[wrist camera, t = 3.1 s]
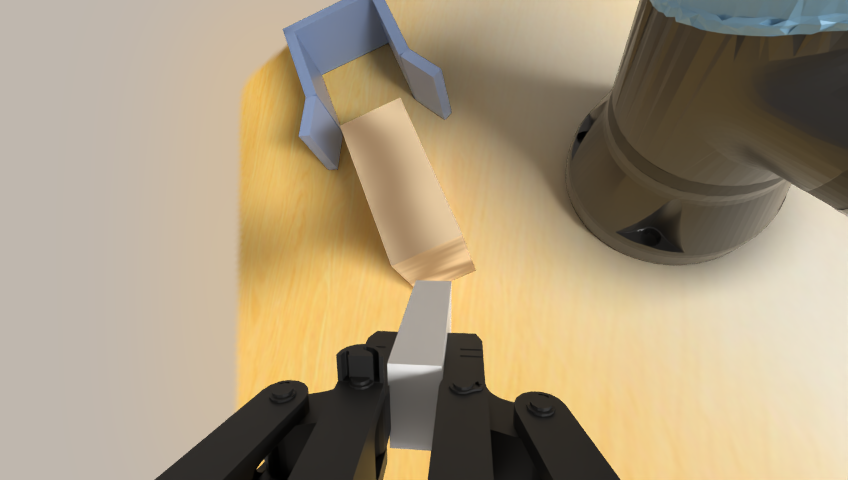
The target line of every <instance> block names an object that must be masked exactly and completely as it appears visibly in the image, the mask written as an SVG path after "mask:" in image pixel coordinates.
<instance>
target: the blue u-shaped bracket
mask: <svg viewBox="0 0 848 480" xmlns="http://www.w3.org/2000/svg"><path fill="white" fill-rule="evenodd" d="M283 31H284V34H285V37H286V40H287V43H288V46H289V49H290V52H291V55H292V58H293V61H294V64H295V67H296V70H297V73H298V76H299V79H300V82H301V85H302V88H303V91H304V94H305V97H306V99H305V105H304V110H303V115H302V121H301V126H300V131H299V137H300V138H301V139H302V141H303V142H304V143H305V144H306V145H307V146H308V147H309V148H310V150H311V151H312V152H313V153H314V154H315V155H316V156H317V158H318V159H319V160H320V161H321V162H322V163H323V164H324V166H325V167H326V168H327V169H328V170H335V169H338V164H339V157H340V150H341V144H342V137H343V133H342V130H341V127H340V123H339V121H338V118H337V115H336V112H335V110H334V107H333V104H332V101H331V99H330V96H329V93H328V91H327V88H326V85H325V82H324V80H323V77H322V75H323V74H325V73H327V72H329V71H331V70H333V69H335V68H337V67H339V66H341V65H343V64H346V63H348V62H350V61H352V60H354V59H356V58H358V57H360V56H362V55H364V54H366V53H369V52H371V51H373V50H375V49H377V48H379V47H381V46H383V45H385V44H387V43H389V45H390V47H391V49H392V52H393V54H394V56H395V58H396V60H397V62H398V64H399V66H400V69H401V71H402V73H403V75H404V77H405V79H406V81H407V83H408V85H409V88H410V90H411V92H412V94H413V96H414V98H415V99H416V100H417V101H418V102H420V103H421V104H423V105H424V106H425V107H427V108H428V109H430V110H431V111H433V112H434V113H436V114H437V115H439V116H440V117H441V118H443V119H444V120H445V119H446V118H447V117H448V116H449V115H450V114H451V113H452V111H451V107H450V103H449V99H448V95H447V90H446V86H445V82H444V78H443V74H442V70H441V68H439V67H437V66H436V65H434V64H433V63H431V62H429V61H428V60H426V59H425V58H423V57H421V56H420V55H418V54H417V53H415V52H414V51H412V50H410V49H409V48H408V46H407V44H406V42H405V40H404V38H403V36H402V34H401V32H400V30H399V28H398V26H397V24H396V22H395V20H394V18H393V16H392V14H391V12H390V9H389V7H388V5H387V3H386V1H385V0H341V1H339V2H337V3H335V4H333V5H331V6H329V7H327V8H325V9H323V10H321V11H319V12H317V13H315V14H313V15H311V16H309V17H307V18H304V19H302V20H300V21H299V22H296V23H294V24H293V25H290V26H288V27H286V28H284V29H283Z"/></svg>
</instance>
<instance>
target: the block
mask: <svg viewBox="0 0 848 480" xmlns="http://www.w3.org/2000/svg"><path fill="white" fill-rule="evenodd" d="M340 127H341V130H342V133H343V136H344V138H345V141H346V144H347V147H348V149H349V152H350V155H351V158H352V160H353V163H354V166H355V168H356V171H357V174H358V177H359V179H360V182H361V185H362V188H363V190H364V193H365V196H366V198H367V201H368V204H369V207H370V209H371V212H372V215H373V218H374V220H375V223H376V226H377V229H378V231H379V234H380V237H381V239H382V242H383V245H384V248H385V250H386V253H387V256H388V259H389V261H390V264H391V266H392V267H393V268H394V269H395V270H396V271H397V272H398V273H399V274H400V275H401V276H402V277H403V278H404V279H405V280H407V281H408V282H409V283H410V284H411V285H412V286H413V287H414V285H415V282H416V280H425V281H453V280H455V279H457V278H460V277H462V276H464V275H466V274H469V273H471V272H473V271H476V270H475V267H474V264H473V261H472V259H471V256H470V253H469V250H468V248H467V245H466V242H465V239H464V237H463V234H462V232H461V230H460V227H459V225H458V223H457V221H456V219H455V216H454V214H453V212H452V210H451V208H450V205H449V203H448V201H447V199H446V197H445V194H444V192H443V190H442V188H441V186H440V183H439V181H438V179H437V177H436V175H435V172H434V170H433V168H432V166H431V164H430V162H429V159H428V157H427V155H426V153H425V151H424V148H423V146H422V144H421V142H420V140H419V137H418V135H417V133H416V131H415V129H414V126H413V124H412V122H411V120H410V118H409V115H408V113H407V111H406V109H405V107H404V104H403V102H402V100H401V98H398V99H396V100H393V101H391V102H389V103H387V104H385V105H383V106H381V107H379V108H376V109H374V110H372V111H370V112H368V113H366V114H364V115H361V116H359V117H357V118H355V119H353V120H351V121H349V122H347V123H344V124H342V125H340Z"/></svg>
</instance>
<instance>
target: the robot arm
mask: <svg viewBox="0 0 848 480" xmlns="http://www.w3.org/2000/svg"><path fill="white" fill-rule="evenodd" d="M791 184H793V185H795V186H797V187H799V188H800V189H802V190H804V191H806V192H808V193H809V194H811V195H813V196H815V197H816V198H818V199H820V200H822V201H823V202H825V203H827V204H829V205H830V206H832V207H833V208H835V209H836V210H837V211H839V212H841V213H843V214H844V215H846V216H848V0H640V1H639V4H638V7H637V11H636V14H635V17H634V21H633V24H632V27H631V30H630V34H629V37H628V40H627V43H626V47H625V50H624V53H623V57H622V60H621V63H620V66H619V70H618V73H617V76H616V80H615V83H614V86H613V89H612V90H611V91H610V92H609V93H608V94H607V95H606V96H605V97H604V98H603V100H602V101H601V102H600V103H599V104H598V105H597V106H596V107H595V108H594V109H593V110H592V111H591V112H590V113H589V114H588V115H587V117H586V118H585V119H584V121H583V122H582V123H581V125H580V127H579V128H578V130H577V132H576V134H575V136H574V138H573V141H572V144H571V147H570V151H569V156H568V160H567V166H566V185H567V190H568V194H569V198H570V200H571V203H572V205H573V207H574V209H575V211H576V213H577V215H578V216H579V218H580V219H581V220H582V222H583V223H584V224H585V226H586V227H587V228H588V229H589V230H590V231H591V232H592V233H593V234H594V235H595V236H597V237H598V238H599V239H600V240H601V241H603V242H604V243H606V244H607V245H609V246H610V247H612V248H614V249H615V250H617V251H619V252H621V253H623V254H626V255H628V256H631V257H633V258H636V259H639V260H643V261H647V262H651V263H657V264H665V265H687V264H695V263H701V262H706V261H709V260H713V259H716V258H718V257H721V256H723V255H725V254H728V253H730V252H731V251H733V250H735V249H737V248H738V247H740V246H741V245H743V244H745V243H746V242H748V241H749V240H751V239H752V238H754V237H755V236H756V235H758V234H759V233H760V232H761V231H762V230H763V229H764V228H765V227H767V225H768V224H769V223H770V222H771V221H772V220H773V219H774V217H775V216H776V214H777V213H778V212H779V210H780V208H781V206H782V204H783V202H784V200H785V198H786V194H787V192H788V190H789V188H790V186H791ZM336 356H337V371H338V382H337V384H336V386H335V388H334V389H332V390H329V391H325V392H319V393H313V394H308V387H307V386H306V385H305V384H304V383H302V382H299V381H292V380H286V381H280V382H278V383H275V384H272V385H270V386H268V387H267V388H265V389H263V390H262V391H261V392H260V393H259V394H257V395H256V396H255V397H254V398H252V399H251V400H250V401H249V402H248V403H246V404H245V405H244V406H243V407H242V408H240V409H239V410H238V411H237V412H236V413H234V414H233V415H232V416H231V417H230V418H228V419H227V420H226V421H225V422H224V423H222V424H221V425H220V426H219V427H218V428H217V429H215V430H214V431H213V432H212V433H210V434H209V435H208V436H207V437H206V438H205V439H203V440H202V441H201V442H200V443H198V444H197V445H196V446H195V447H194V448H192V449H191V450H190V451H189V452H188V453H186V454H185V455H184V456H183V457H182V458H180V459H179V460H178V461H177V462H176V463H174V464H173V465H172V466H171V467H169V468H168V469H167V470H166V471H165V472H163V473H162V474H161V475H160V476H159V477H157V478H156V479H155V480H383V477H384V473H385V469H386V465H387V443H388V439H389V435H390V448H400V449H415V450H430V451H431V457H430V466H429V474H428V480H620V478H619V477H618V476H617V474H616V473H615V472H614V470H613V469H612V468H611V466H610V465H609V463H608V462H607V461H606V459H605V458H604V457H603V455H602V454H601V453H600V451H599V450H598V448H597V447H596V446H595V444H594V443H593V442H592V440H591V439H590V438H589V436H588V435H587V434H586V432H585V431H584V429H583V428H582V427H581V425H580V424H579V423H578V421H577V420H576V419H575V417H574V416H573V414H572V413H571V412H570V410H569V409H568V408H567V406H566V405H565V404H564V403H563V402H562V401H561V400H560V399H558V398H556V397H555V396H553V395H551V394H547V393H543V392H527V393H523V394H521V395H520V396H518V397H517V398H516V400H515V402H510V401H507V400H504V399H501V398H499V397H497V396H495V395H493V394H492V393H491V392H490V391H489V390H488V389H487V387H486V384H485V375H484V361H483V346H482V341H481V339H480V338H479V337H478V336H477V335H476V334H466V333H451V281H425V280H416V282H415V285H414V288H413V290H412V293H411V296H410V299H409V302H408V305H407V308H406V311H405V314H404V316H403V319H402V322H401V325H400V328H399V331H398V332H387V331H377V332H376V333H374V334H373V335H372V336H370V337H369V338H368V340H367V342H366V344H357V345H353V346H349V347H346V348H344V349H342V350H341V351H340V352H339V353H338V354H337V355H336ZM263 460H265V462H264V463H263V464H262V465H261V466H260V467H259V468H258V469H257V467H258V466H259V464H260V463H261V462H262V461H263Z"/></svg>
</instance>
